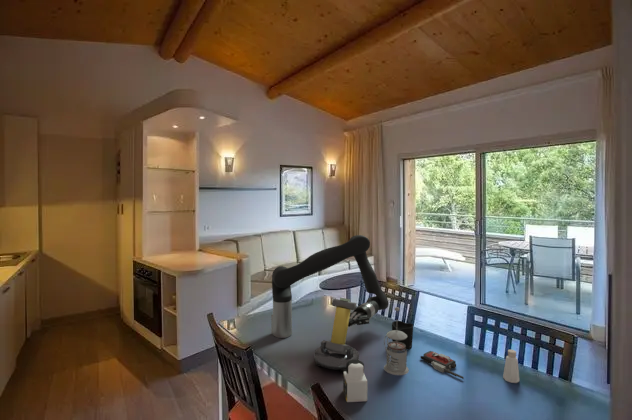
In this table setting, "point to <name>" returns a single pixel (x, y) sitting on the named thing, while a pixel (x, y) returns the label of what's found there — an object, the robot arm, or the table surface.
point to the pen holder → (405, 328)
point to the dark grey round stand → (334, 357)
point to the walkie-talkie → (440, 362)
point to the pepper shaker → (511, 367)
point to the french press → (398, 359)
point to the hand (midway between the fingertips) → (347, 324)
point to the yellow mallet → (340, 325)
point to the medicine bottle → (355, 382)
